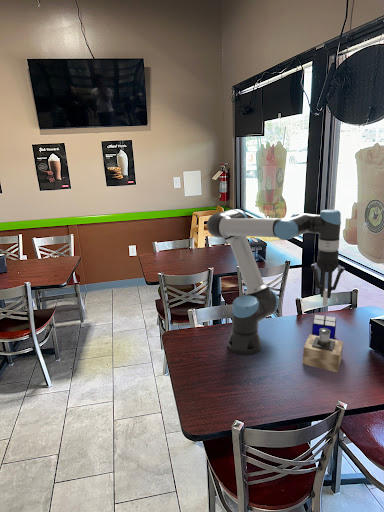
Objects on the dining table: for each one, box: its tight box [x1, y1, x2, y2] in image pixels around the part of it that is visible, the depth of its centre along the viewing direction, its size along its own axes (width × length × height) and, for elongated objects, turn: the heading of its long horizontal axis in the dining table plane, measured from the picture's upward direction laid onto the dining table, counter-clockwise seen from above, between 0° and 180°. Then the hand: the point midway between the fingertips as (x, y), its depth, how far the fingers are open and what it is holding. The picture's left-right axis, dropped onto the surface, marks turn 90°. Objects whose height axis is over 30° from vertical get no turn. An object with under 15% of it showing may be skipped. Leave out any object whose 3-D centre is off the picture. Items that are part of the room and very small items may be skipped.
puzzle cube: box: [311, 314, 337, 340], centre depth 169 cm, size 10×10×10 cm
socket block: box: [302, 333, 344, 374], centre depth 152 cm, size 14×12×9 cm
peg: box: [319, 328, 331, 347], centre depth 150 cm, size 4×4×8 cm
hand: (325, 304), depth 147 cm, fingers closed
